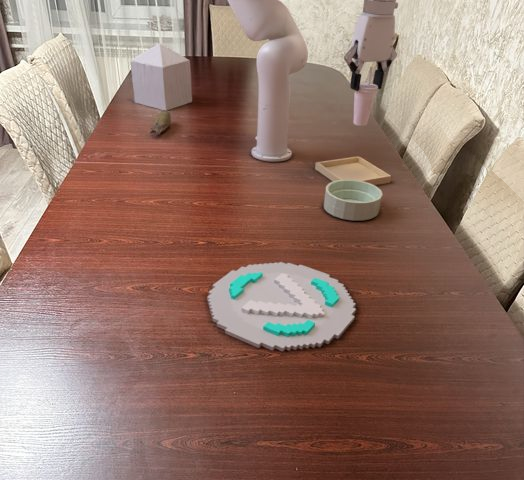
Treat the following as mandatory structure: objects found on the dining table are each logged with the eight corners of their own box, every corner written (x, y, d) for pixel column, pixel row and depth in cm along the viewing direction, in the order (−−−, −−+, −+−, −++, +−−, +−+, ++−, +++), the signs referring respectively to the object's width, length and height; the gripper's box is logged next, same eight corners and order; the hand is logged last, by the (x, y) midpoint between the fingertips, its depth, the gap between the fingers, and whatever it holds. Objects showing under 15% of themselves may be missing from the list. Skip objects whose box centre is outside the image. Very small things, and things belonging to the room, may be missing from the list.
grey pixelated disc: (310, 371, 87) (311, 363, 86) (179, 313, 98) (179, 306, 97) (375, 294, 106) (376, 287, 105) (259, 253, 117) (259, 246, 116)
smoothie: (371, 128, 140) (381, 71, 131) (347, 125, 141) (355, 68, 132) (372, 121, 145) (382, 65, 136) (349, 118, 146) (357, 63, 137)
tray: (314, 168, 157) (315, 162, 155) (357, 162, 162) (358, 156, 161) (345, 190, 145) (346, 183, 144) (390, 182, 151) (391, 175, 150)
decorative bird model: (175, 122, 184) (174, 107, 181) (162, 140, 169) (160, 124, 166) (161, 121, 185) (160, 106, 181) (146, 139, 169) (145, 123, 166)
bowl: (312, 202, 139) (315, 184, 135) (358, 194, 144) (361, 176, 141) (342, 225, 129) (345, 206, 126) (390, 216, 134) (394, 197, 131)
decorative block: (192, 101, 205) (190, 43, 192) (166, 110, 194) (161, 49, 181) (161, 94, 211) (157, 37, 198) (133, 102, 200) (127, 43, 187)
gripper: (398, 5, 132) (384, 83, 143) (340, 6, 125) (330, 87, 137) (416, 10, 127) (400, 90, 138) (357, 11, 120) (345, 94, 132)
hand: (365, 88), depth 137 cm, fingers closed on smoothie, 6 cm apart
